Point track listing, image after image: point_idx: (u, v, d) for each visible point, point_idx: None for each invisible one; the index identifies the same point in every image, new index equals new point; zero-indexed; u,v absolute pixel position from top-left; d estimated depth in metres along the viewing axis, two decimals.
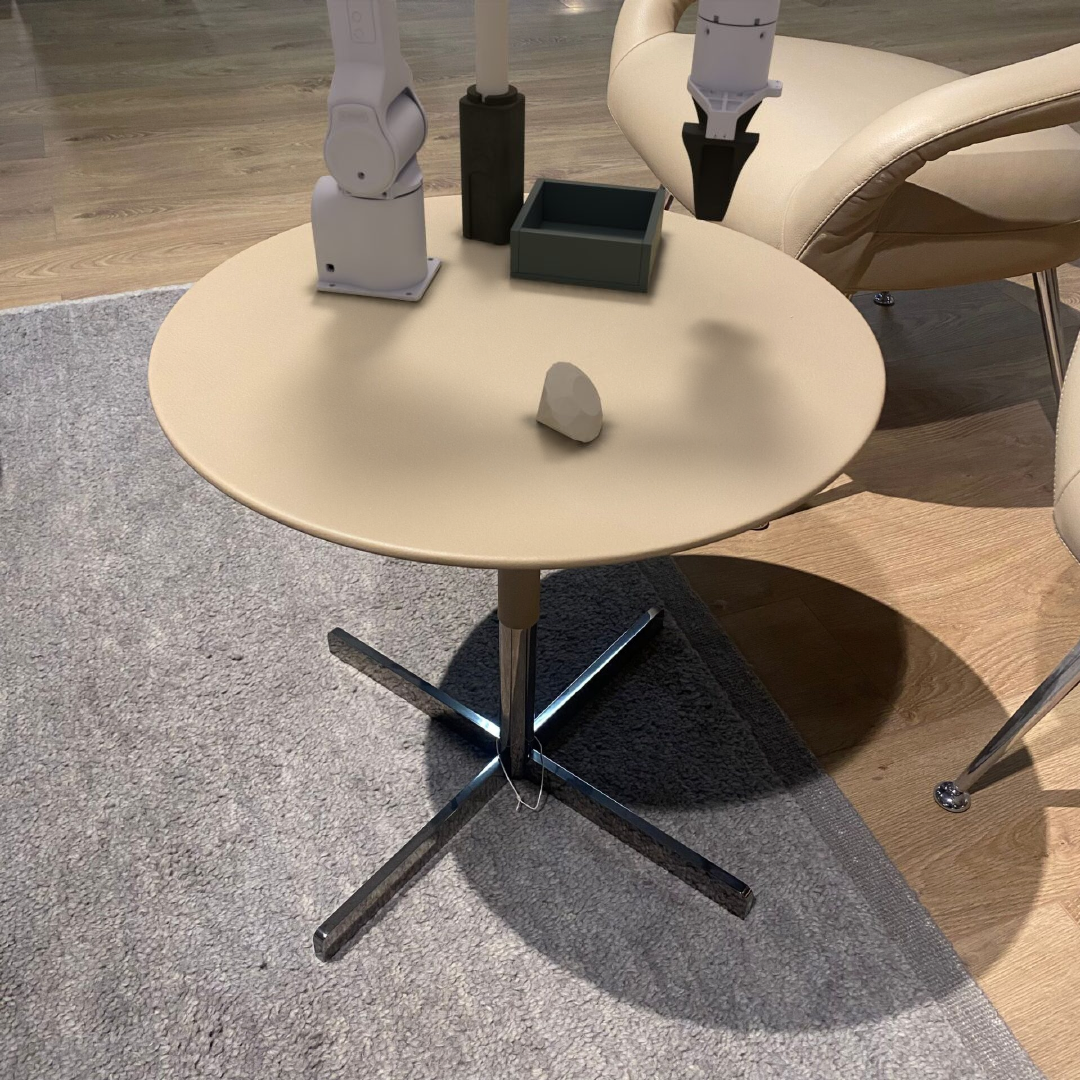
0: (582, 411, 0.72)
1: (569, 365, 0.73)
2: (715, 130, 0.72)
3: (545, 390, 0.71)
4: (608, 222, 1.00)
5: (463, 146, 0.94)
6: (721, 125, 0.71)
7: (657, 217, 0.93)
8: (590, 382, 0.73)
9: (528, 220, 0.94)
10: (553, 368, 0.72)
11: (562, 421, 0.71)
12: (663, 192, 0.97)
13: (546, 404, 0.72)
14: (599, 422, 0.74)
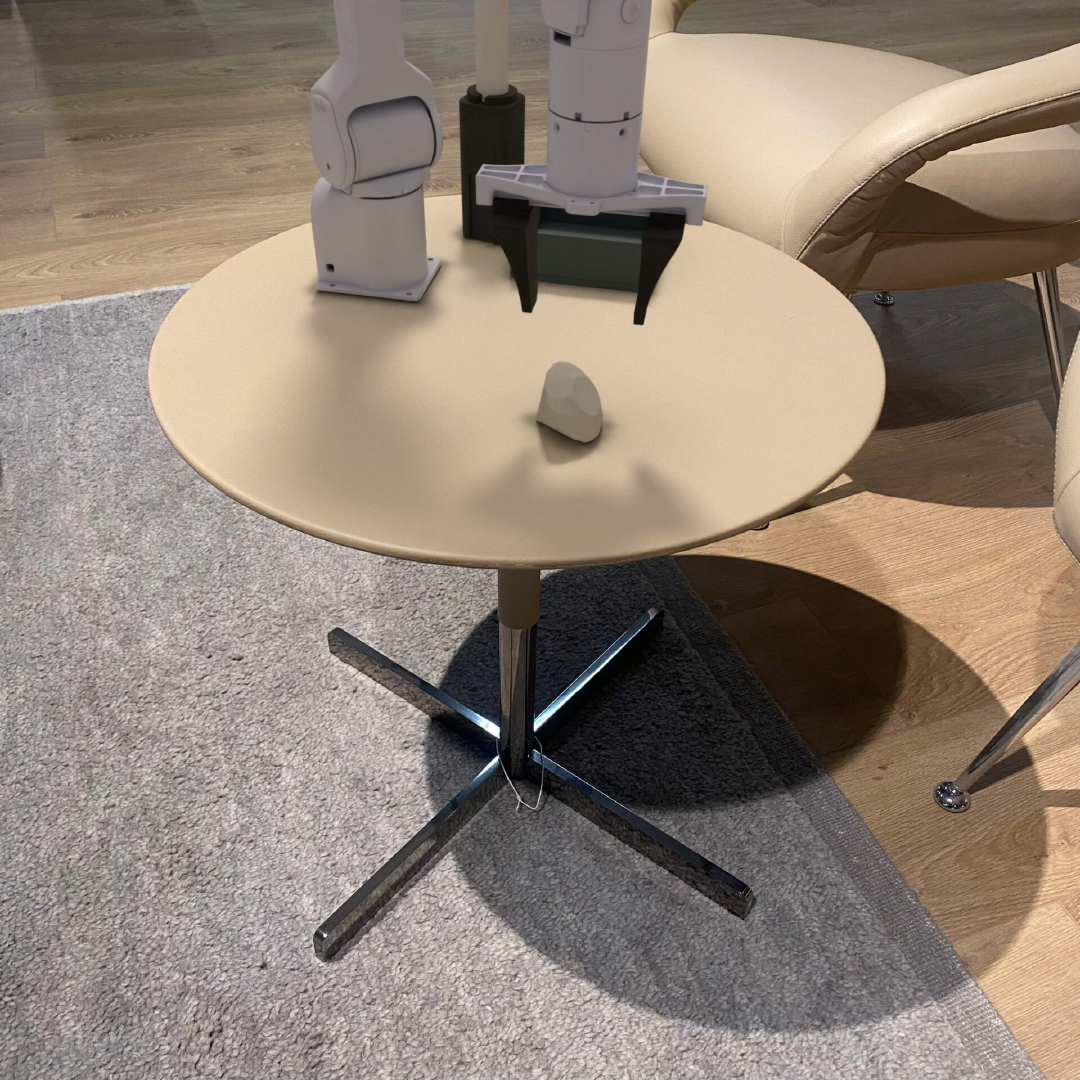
0: (582, 411, 0.72)
1: (569, 365, 0.73)
2: None
3: (545, 390, 0.71)
4: (608, 222, 1.00)
5: (463, 146, 0.94)
6: None
7: None
8: (590, 382, 0.73)
9: None
10: (553, 368, 0.72)
11: (562, 420, 0.71)
12: None
13: (546, 404, 0.72)
14: (599, 422, 0.74)
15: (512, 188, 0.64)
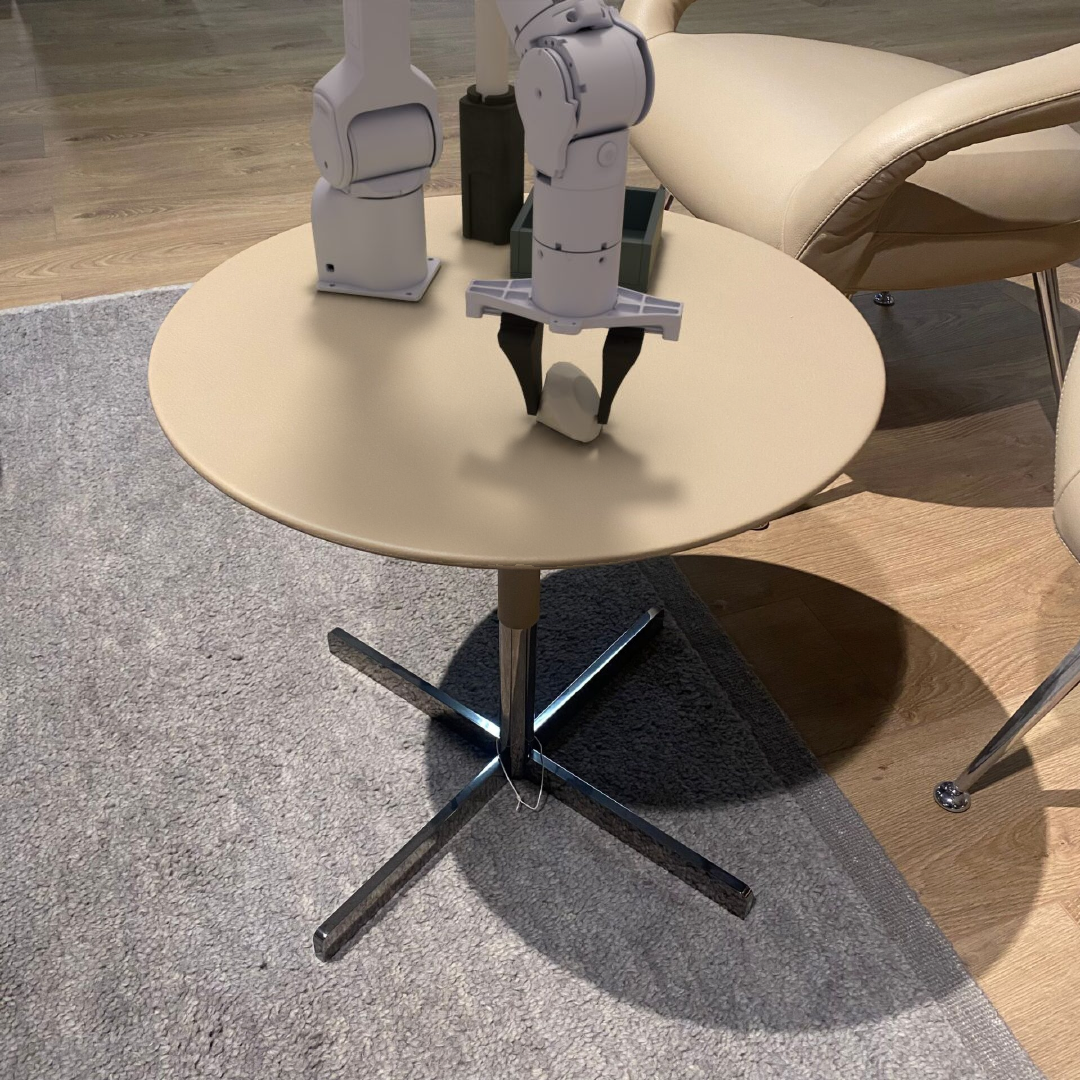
0: (582, 411, 0.72)
1: (569, 365, 0.73)
2: None
3: (545, 390, 0.71)
4: None
5: (463, 146, 0.94)
6: None
7: (657, 217, 0.93)
8: (590, 382, 0.73)
9: (528, 220, 0.94)
10: (553, 368, 0.72)
11: (562, 420, 0.71)
12: (663, 192, 0.97)
13: (546, 404, 0.72)
14: None
15: (499, 305, 0.68)
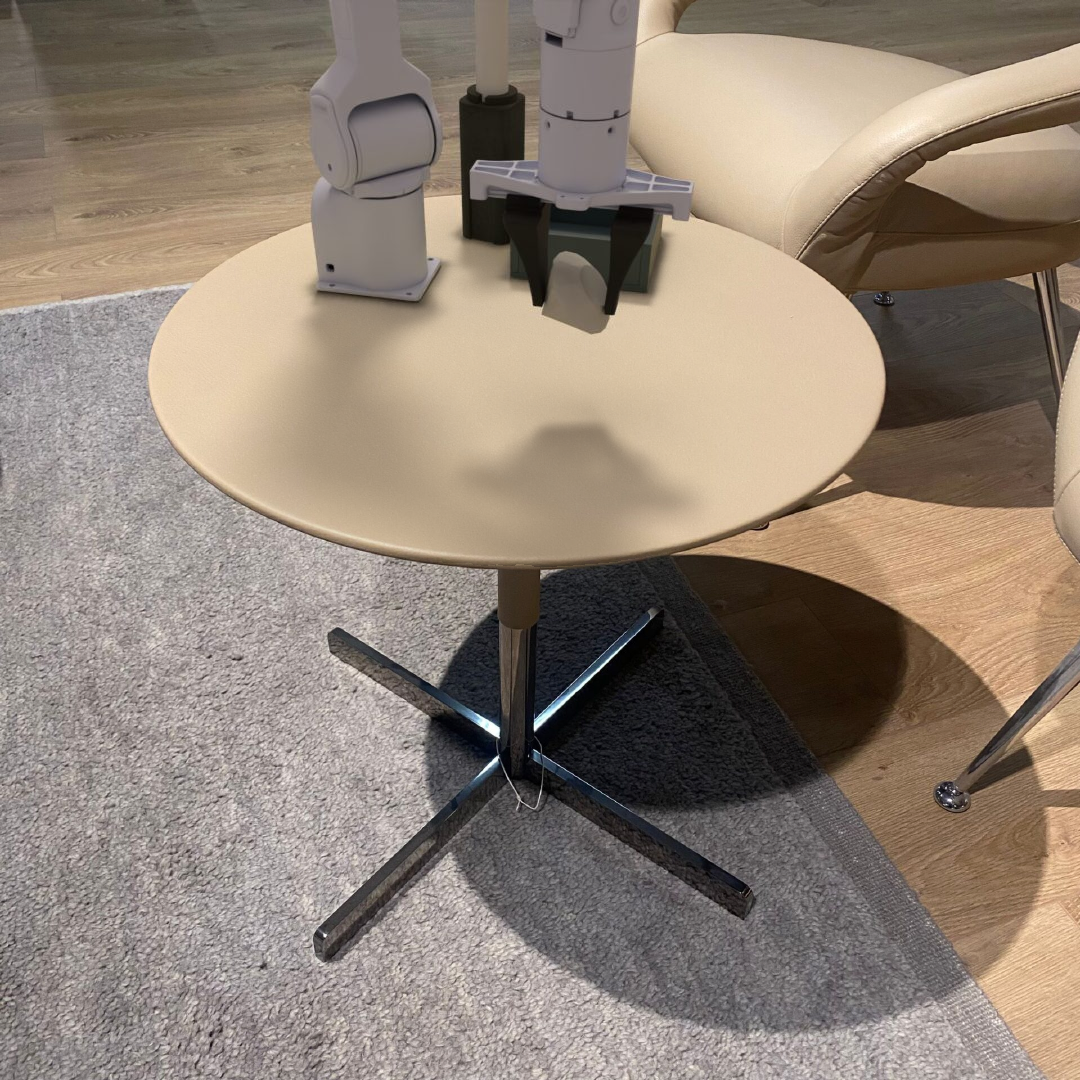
0: (589, 300, 0.70)
1: (576, 255, 0.71)
2: None
3: (551, 278, 0.69)
4: (608, 222, 1.00)
5: (463, 146, 0.94)
6: None
7: (657, 217, 0.93)
8: (597, 273, 0.72)
9: None
10: (559, 257, 0.70)
11: (569, 309, 0.69)
12: None
13: (552, 293, 0.70)
14: (606, 315, 0.72)
15: (505, 183, 0.66)
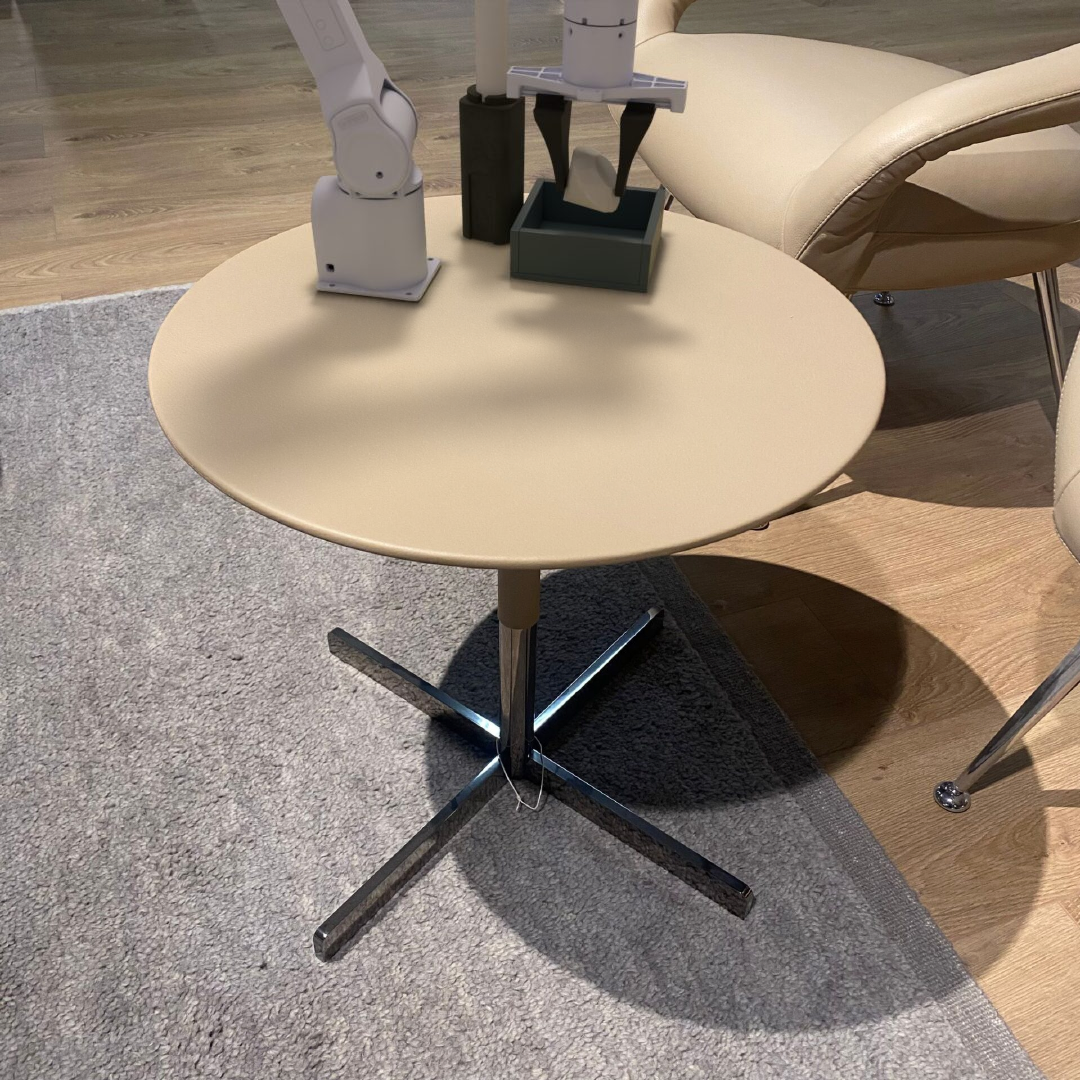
0: (603, 183, 0.85)
1: (592, 148, 0.87)
2: None
3: (572, 164, 0.85)
4: (608, 222, 1.00)
5: (463, 146, 0.94)
6: None
7: (657, 217, 0.93)
8: (609, 162, 0.87)
9: (528, 220, 0.94)
10: (578, 148, 0.86)
11: (586, 189, 0.85)
12: (663, 192, 0.97)
13: (573, 176, 0.85)
14: (617, 197, 0.88)
15: (535, 83, 0.82)
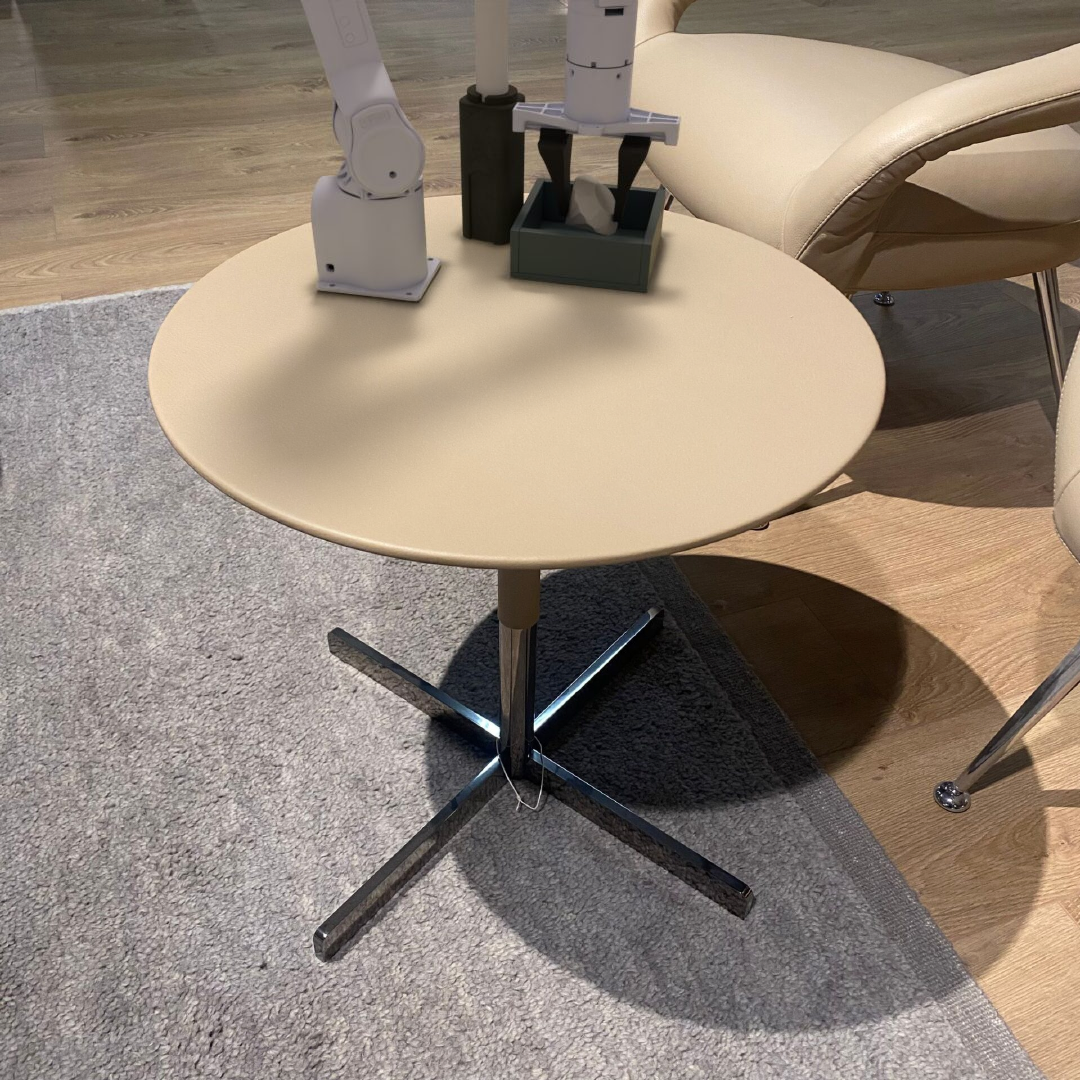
0: (602, 209, 0.92)
1: (592, 176, 0.94)
2: None
3: (573, 192, 0.92)
4: None
5: (463, 146, 0.94)
6: None
7: (657, 217, 0.93)
8: (608, 190, 0.94)
9: (528, 220, 0.94)
10: (579, 177, 0.93)
11: (587, 215, 0.92)
12: (663, 192, 0.97)
13: (574, 203, 0.92)
14: (615, 222, 0.94)
15: (539, 118, 0.88)
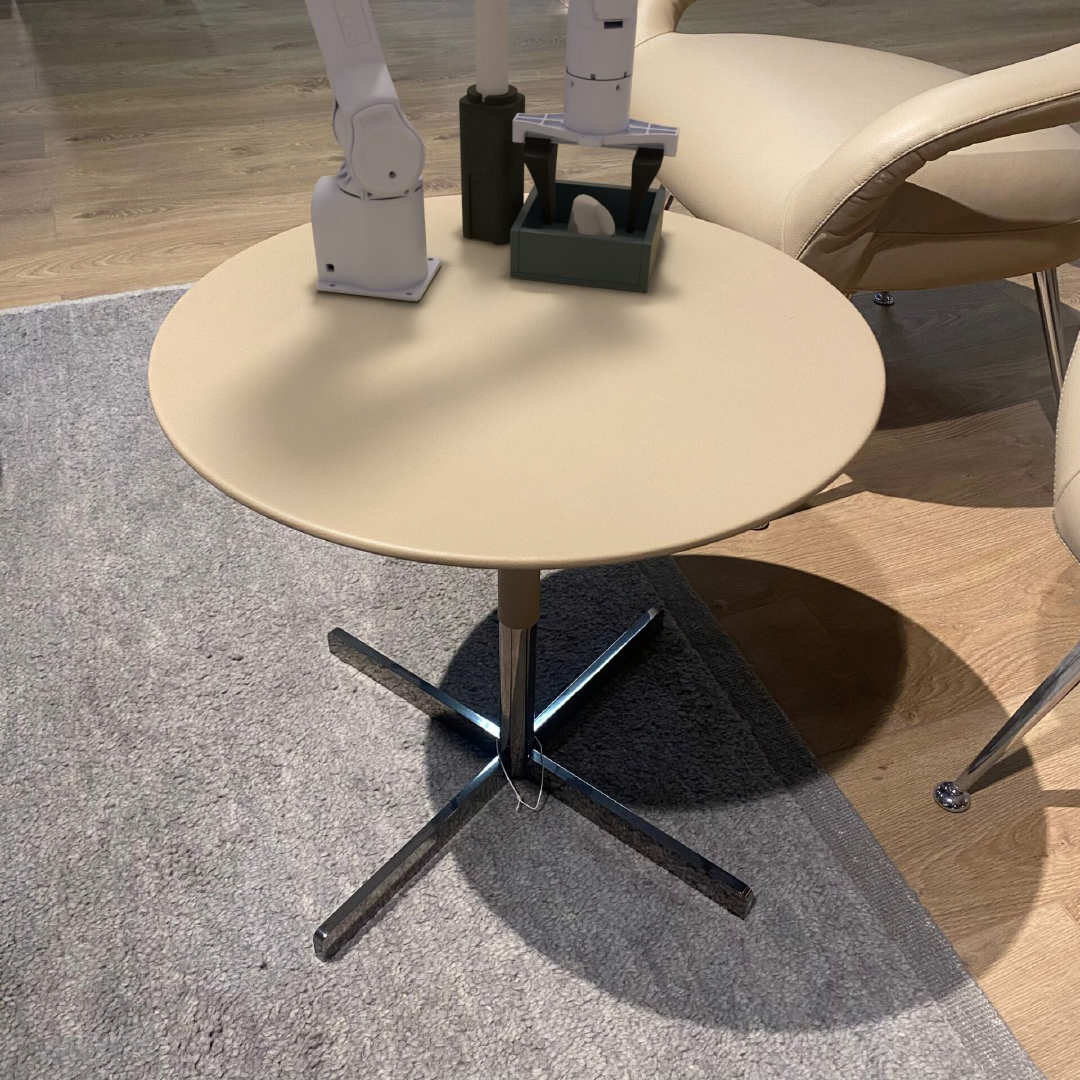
0: (601, 230, 0.93)
1: (590, 197, 0.95)
2: None
3: (573, 213, 0.93)
4: None
5: (463, 146, 0.94)
6: None
7: (657, 217, 0.93)
8: (607, 211, 0.95)
9: (528, 220, 0.94)
10: (578, 198, 0.94)
11: None
12: (663, 192, 0.97)
13: (573, 224, 0.93)
14: None
15: (539, 129, 0.89)
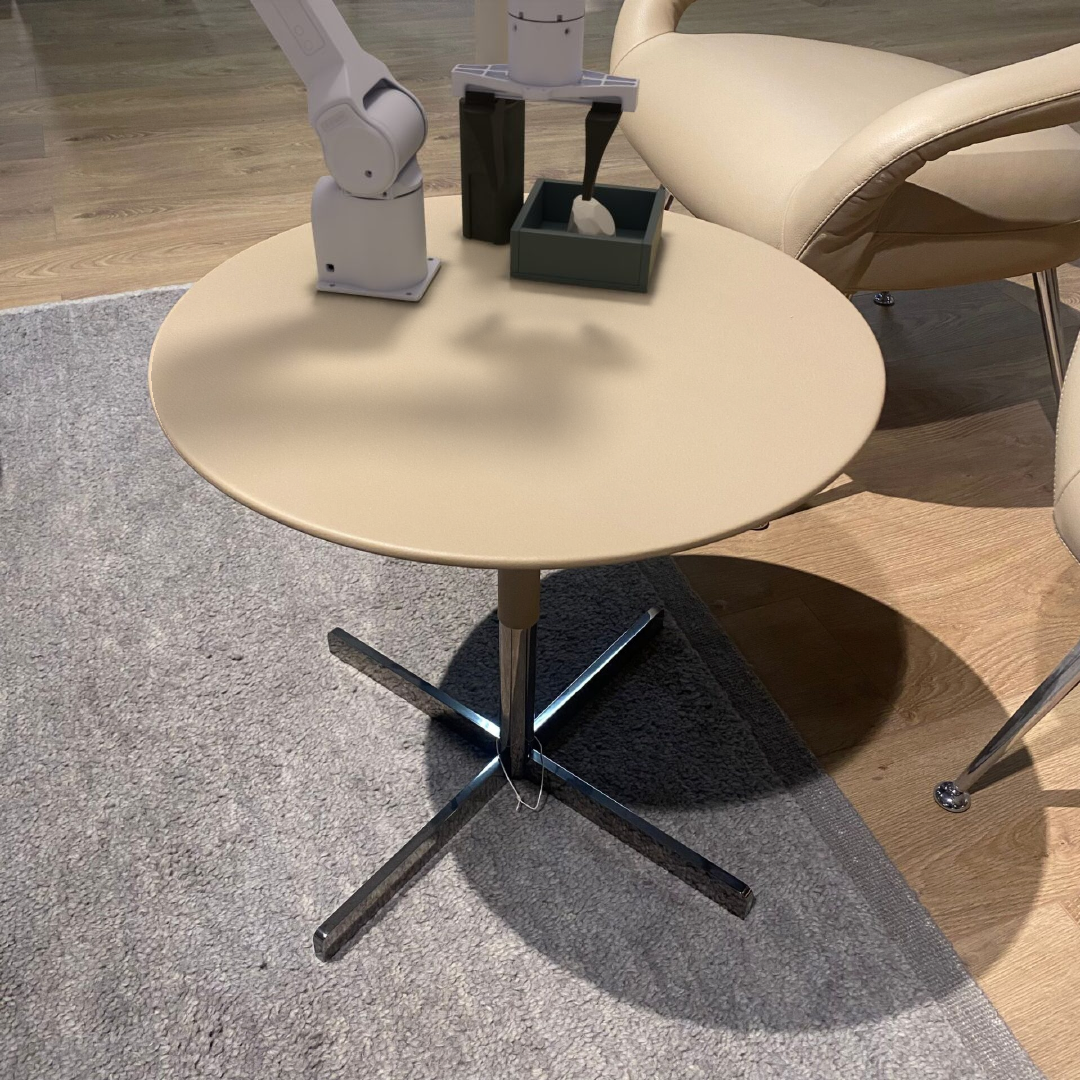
0: (601, 230, 0.93)
1: None
2: None
3: (573, 213, 0.93)
4: None
5: (463, 146, 0.94)
6: None
7: (657, 217, 0.93)
8: (607, 211, 0.95)
9: (528, 220, 0.94)
10: (578, 198, 0.94)
11: None
12: (663, 192, 0.97)
13: (573, 224, 0.93)
14: None
15: (480, 81, 0.78)
